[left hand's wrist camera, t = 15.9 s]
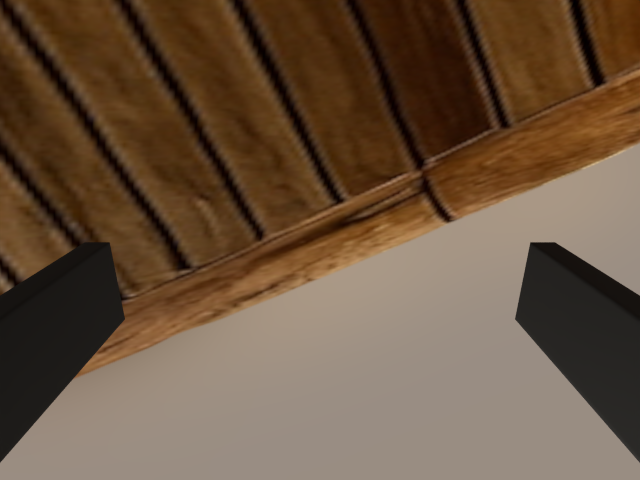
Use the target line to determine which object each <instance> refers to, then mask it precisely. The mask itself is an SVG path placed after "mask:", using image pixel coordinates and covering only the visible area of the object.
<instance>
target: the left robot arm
mask: <svg viewBox="0 0 640 480" xmlns="http://www.w3.org/2000/svg"><path fill="white" fill-rule="evenodd" d="M124 320H125V317H124V312H123V307H122V302H121V297H120V292H119V287H118V282H117V277H116V272H115V267H114V262H113V257H112V252H111V247H110V242H85V243H83V244H82V245H80V246H79V247H77V248H75V249H74V250H72V251H71V252H69V253H67V254H66V255H64V256H63V257H61V258H59V259H58V260H56V261H55V262H53V263H52V264H50V265H48V266H47V267H45V268H44V269H42V270H40V271H39V272H37V273H36V274H34V275H32V276H31V277H29V278H28V279H26V280H24V281H23V282H21V283H20V284H18V285H17V286H15V287H13V288H12V289H10V290H9V291H7V292H5V293H4V294H2V295H1V296H0V462H1V461H2V460H3V459H4V458H5V456H6V455H7V454H8V453H9V452H10V451H11V450H12V448H13V447H14V446H15V445H16V444H17V443H18V441H19V440H20V439H21V438H22V437H23V436H24V435H25V433H26V432H27V431H28V430H29V429H30V428H31V427H32V425H33V424H34V423H35V422H36V421H37V420H38V418H39V417H40V416H41V415H42V414H43V413H44V412H45V410H46V409H47V408H48V407H49V406H50V405H51V403H52V402H53V401H54V400H55V399H56V398H57V397H58V395H59V394H60V393H61V392H62V391H63V390H64V389H65V387H66V386H67V385H68V384H69V383H70V382H71V381H72V379H73V378H74V377H75V376H76V375H77V374H78V372H79V371H80V370H81V369H82V368H83V367H84V366H85V364H86V363H87V362H88V361H89V360H90V359H91V358H92V356H93V355H94V354H95V353H96V352H97V351H98V349H99V348H100V347H101V346H102V345H103V344H104V343H105V341H106V340H107V339H108V338H109V337H110V336H111V335H112V333H113V332H114V331H115V330H116V329H117V328H118V326H119V325H120V324H121V323H122V322H123V321H124ZM515 320H516V321H517V322H518V323H519V324H520V325H521V326H522V328H523V329H524V330H525V331H526V332H527V333H528V335H529V336H530V337H531V338H532V339H533V340H534V341H535V343H536V344H537V345H538V346H539V347H540V348H541V349H542V351H543V352H544V353H545V354H546V355H547V356H548V358H549V359H550V360H551V361H552V362H553V363H554V364H555V366H556V367H557V368H558V369H559V370H560V371H561V372H562V374H563V375H564V376H565V377H566V378H567V379H568V381H569V382H570V383H571V384H572V385H573V386H574V387H575V389H576V390H577V391H578V392H579V393H580V394H581V395H582V397H583V398H584V399H585V400H586V401H587V402H588V404H589V405H590V406H591V407H592V408H593V409H594V410H595V412H596V413H597V414H598V415H599V416H600V417H601V418H602V420H603V421H604V422H605V423H606V424H607V425H608V427H609V428H610V429H611V430H612V431H613V432H614V433H615V435H616V436H617V437H618V438H619V439H620V440H621V441H622V443H623V444H624V445H625V446H626V447H627V448H628V450H629V451H630V452H631V453H632V454H633V455H634V456H635V458H636V459H637V460H638V461H639V462H640V296H639V295H638V294H636V293H635V292H633V291H631V290H630V289H628V288H627V287H625V286H623V285H622V284H620V283H619V282H617V281H615V280H614V279H612V278H611V277H609V276H608V275H606V274H604V273H603V272H601V271H600V270H598V269H596V268H595V267H593V266H592V265H590V264H588V263H587V262H585V261H584V260H582V259H581V258H579V257H577V256H576V255H574V254H573V253H571V252H569V251H568V250H566V249H565V248H563V247H561V246H560V245H558V244H557V243H555V242H549V243H548V242H544V243H543V242H542V243H541V242H538V243H537V242H536V243H535V242H531V243H530V247H529V252H528V258H527V262H526V267H525V273H524V278H523V282H522V287H521V292H520V297H519V303H518V308H517V312H516V318H515Z"/></svg>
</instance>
